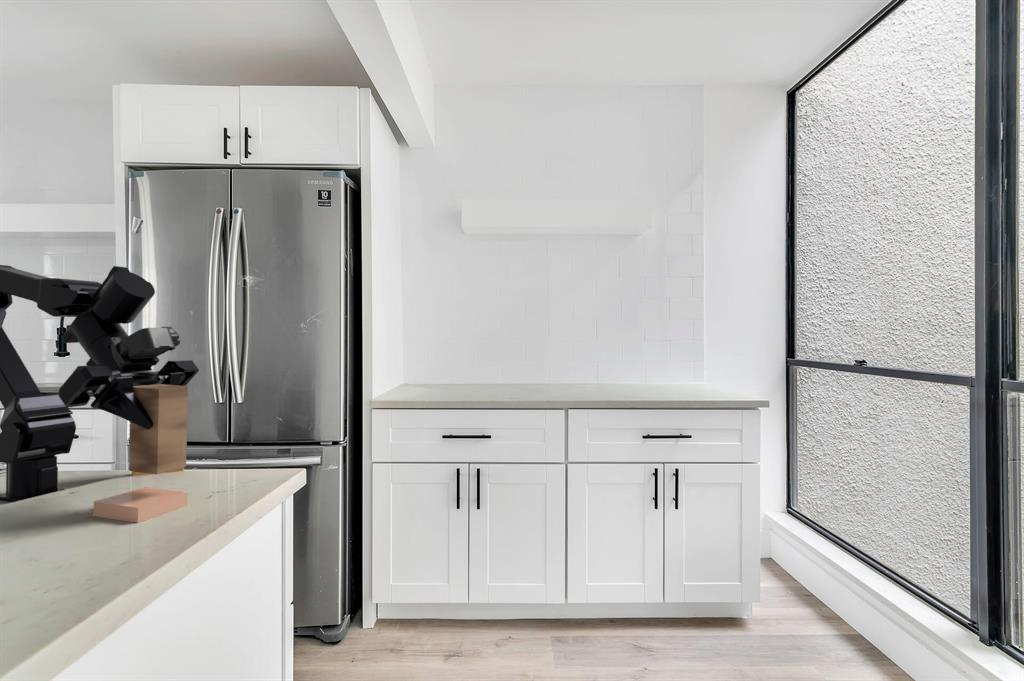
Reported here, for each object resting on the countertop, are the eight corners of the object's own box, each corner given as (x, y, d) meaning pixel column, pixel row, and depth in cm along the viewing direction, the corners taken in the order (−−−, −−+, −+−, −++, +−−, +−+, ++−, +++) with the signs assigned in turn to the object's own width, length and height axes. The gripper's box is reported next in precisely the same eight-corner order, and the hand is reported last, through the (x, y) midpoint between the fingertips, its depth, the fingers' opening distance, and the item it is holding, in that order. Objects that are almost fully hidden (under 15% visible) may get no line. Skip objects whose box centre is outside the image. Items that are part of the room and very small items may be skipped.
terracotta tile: (93, 516, 79) (93, 501, 79) (145, 500, 87) (145, 487, 87) (137, 522, 77) (138, 507, 77) (187, 505, 85) (187, 492, 85)
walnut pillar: (129, 471, 82) (130, 387, 82) (159, 463, 87) (160, 384, 87) (157, 474, 81) (158, 389, 80) (186, 466, 86) (187, 386, 85)
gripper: (76, 304, 75) (141, 394, 73) (190, 310, 93) (246, 382, 91) (30, 362, 78) (92, 450, 75) (150, 356, 96) (204, 427, 93)
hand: (166, 424), depth 83 cm, fingers closed on walnut pillar, 5 cm apart
